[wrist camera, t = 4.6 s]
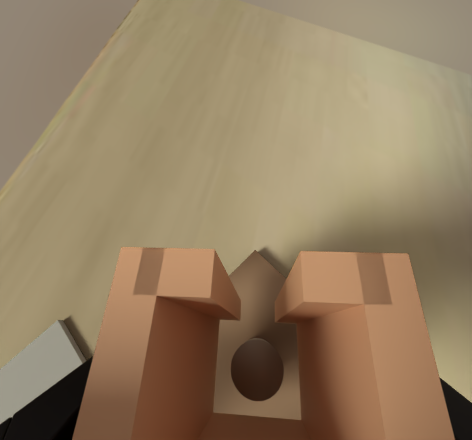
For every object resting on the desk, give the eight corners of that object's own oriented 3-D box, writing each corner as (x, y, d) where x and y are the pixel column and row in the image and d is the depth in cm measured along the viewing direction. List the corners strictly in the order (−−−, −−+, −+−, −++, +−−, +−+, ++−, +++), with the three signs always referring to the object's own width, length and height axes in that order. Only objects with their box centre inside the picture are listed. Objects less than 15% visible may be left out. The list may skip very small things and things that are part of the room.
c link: (326, 451, 11) (558, 849, 2) (189, 437, 11) (-1, 721, 3) (314, 303, 13) (407, 253, 5) (203, 299, 14) (121, 247, 5)
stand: (370, 361, 15) (421, 373, 11) (260, 511, 13) (261, 614, 8) (255, 253, 19) (254, 225, 14) (151, 355, 17) (108, 365, 12)
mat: (129, 435, 15) (125, 438, 14) (-13, 586, 13) (-23, 595, 12) (62, 320, 18) (57, 320, 18) (-61, 425, 16) (-70, 428, 15)
